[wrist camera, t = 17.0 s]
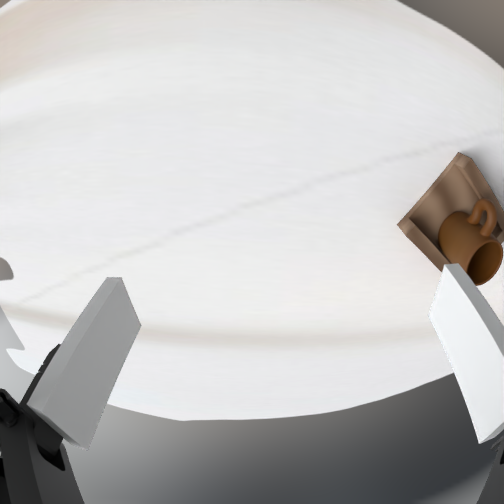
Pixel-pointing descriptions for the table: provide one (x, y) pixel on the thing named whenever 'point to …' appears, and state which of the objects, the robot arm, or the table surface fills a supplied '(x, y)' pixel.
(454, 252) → the mug
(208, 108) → the table surface
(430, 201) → the u rest
